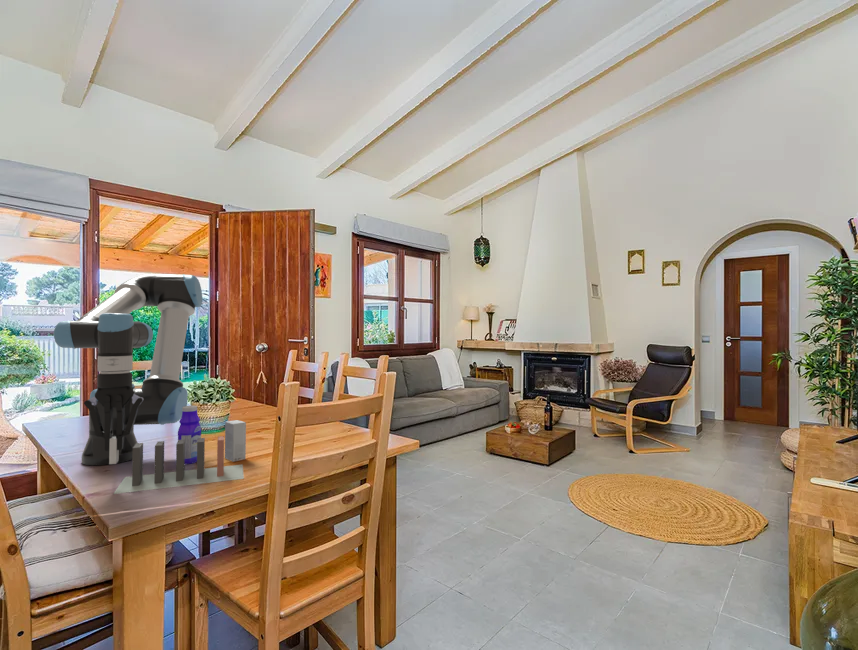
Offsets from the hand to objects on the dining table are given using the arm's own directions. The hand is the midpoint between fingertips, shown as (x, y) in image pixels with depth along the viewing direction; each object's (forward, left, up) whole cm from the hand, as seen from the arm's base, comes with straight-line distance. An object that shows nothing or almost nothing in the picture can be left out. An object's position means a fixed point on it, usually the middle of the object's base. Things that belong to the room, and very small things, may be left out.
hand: (113, 462), depth 118 cm
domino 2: (+10, 0, -6) cm, 12 cm away
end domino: (+25, 0, -6) cm, 26 cm away
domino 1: (+5, 0, -6) cm, 8 cm away
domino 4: (+20, 0, -6) cm, 21 cm away
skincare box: (+29, +15, -7) cm, 34 cm away
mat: (+16, 0, -7) cm, 18 cm away
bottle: (+16, +17, -7) cm, 25 cm away
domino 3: (+15, 0, -6) cm, 16 cm away
